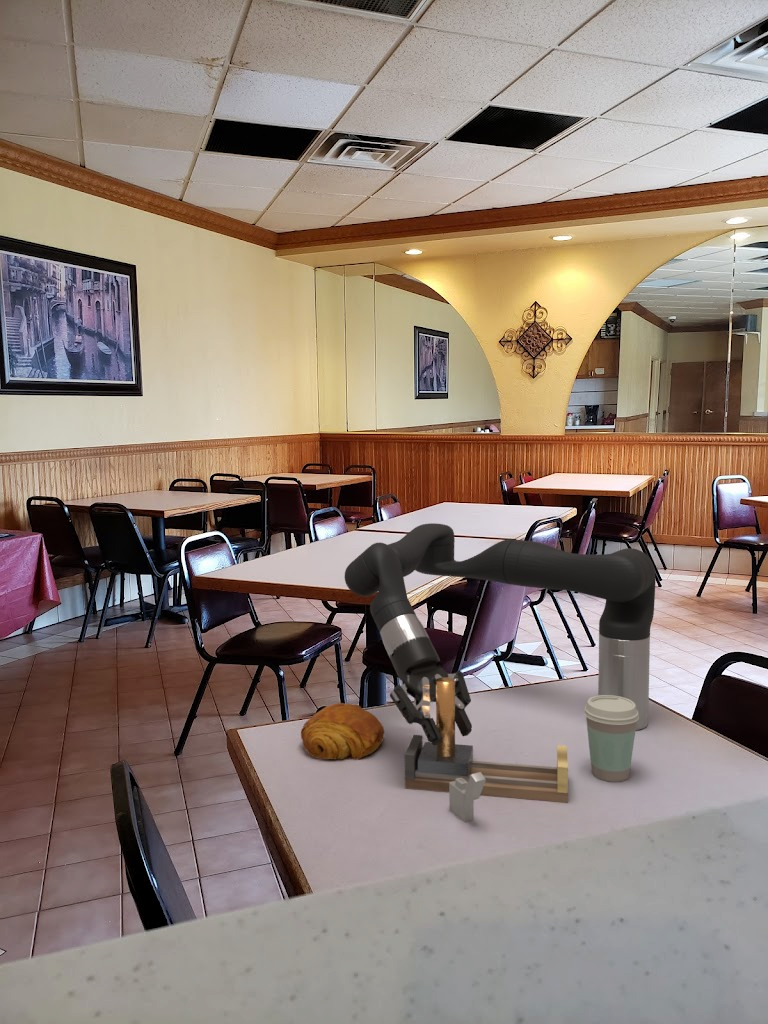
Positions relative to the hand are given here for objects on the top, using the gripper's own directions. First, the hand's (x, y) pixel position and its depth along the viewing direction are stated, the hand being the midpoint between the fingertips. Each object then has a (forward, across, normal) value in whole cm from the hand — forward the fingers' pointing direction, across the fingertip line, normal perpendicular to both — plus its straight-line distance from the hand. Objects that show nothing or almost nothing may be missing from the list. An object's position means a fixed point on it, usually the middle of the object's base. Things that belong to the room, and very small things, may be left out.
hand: (452, 737), depth 119 cm
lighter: (+12, +5, +1) cm, 13 cm away
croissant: (-11, +7, -22) cm, 25 cm away
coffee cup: (+14, -23, +3) cm, 27 cm away
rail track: (+7, -5, -4) cm, 9 cm away
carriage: (+2, 0, -5) cm, 5 cm away
